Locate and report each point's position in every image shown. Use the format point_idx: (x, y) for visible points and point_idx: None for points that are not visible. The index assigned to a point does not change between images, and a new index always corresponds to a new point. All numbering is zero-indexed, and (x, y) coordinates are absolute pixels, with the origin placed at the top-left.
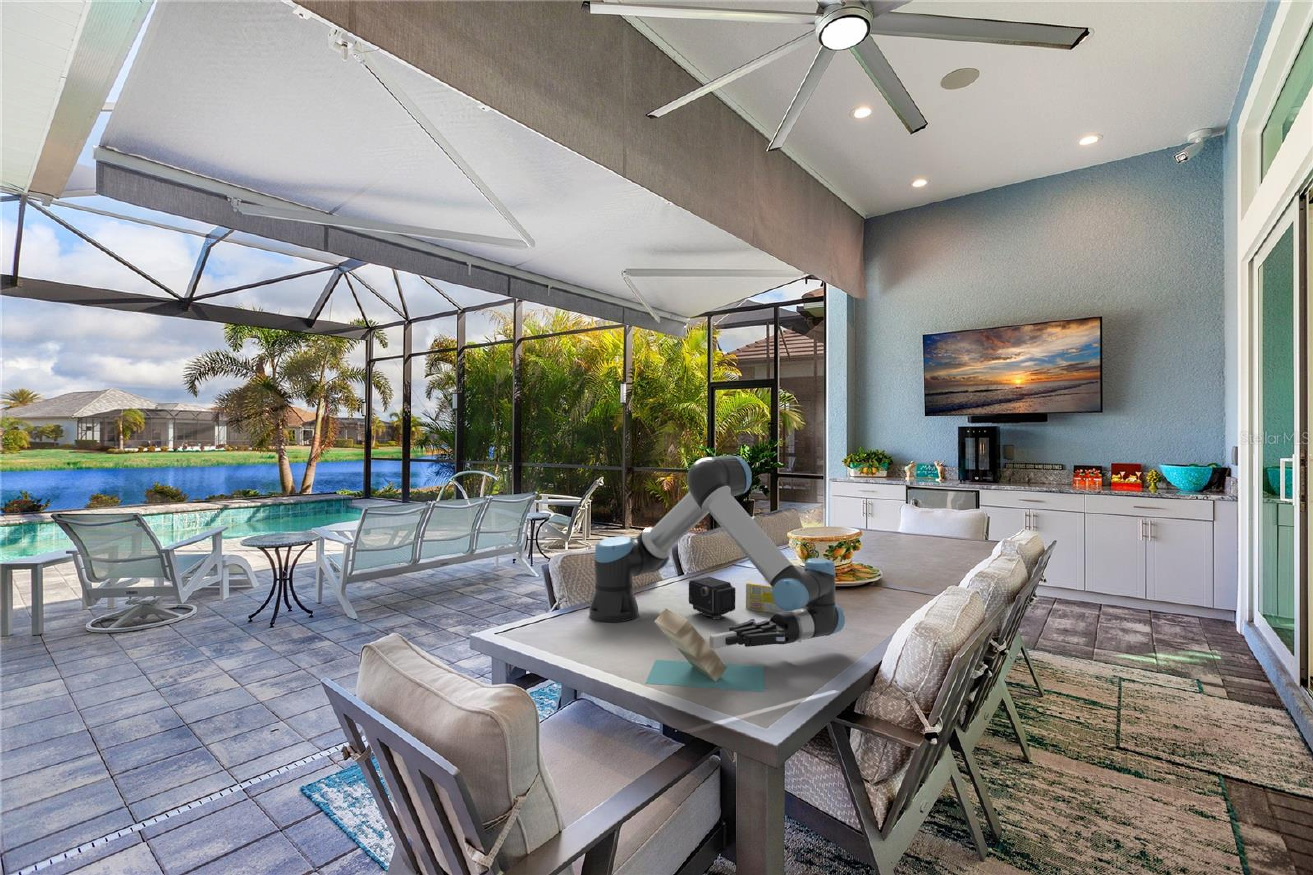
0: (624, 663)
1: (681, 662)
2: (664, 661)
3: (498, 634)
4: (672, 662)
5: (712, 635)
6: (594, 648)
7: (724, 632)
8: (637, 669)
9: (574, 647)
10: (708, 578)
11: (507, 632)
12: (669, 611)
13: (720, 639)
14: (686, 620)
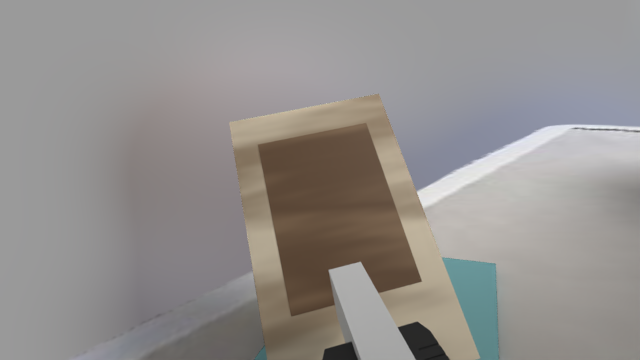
0: (473, 225)
1: (484, 320)
2: (484, 279)
3: (571, 129)
4: (479, 296)
5: (355, 269)
6: (559, 190)
7: (397, 329)
8: (436, 241)
9: (550, 174)
10: None
11: (587, 131)
12: (349, 101)
13: (341, 316)
14: (236, 123)
